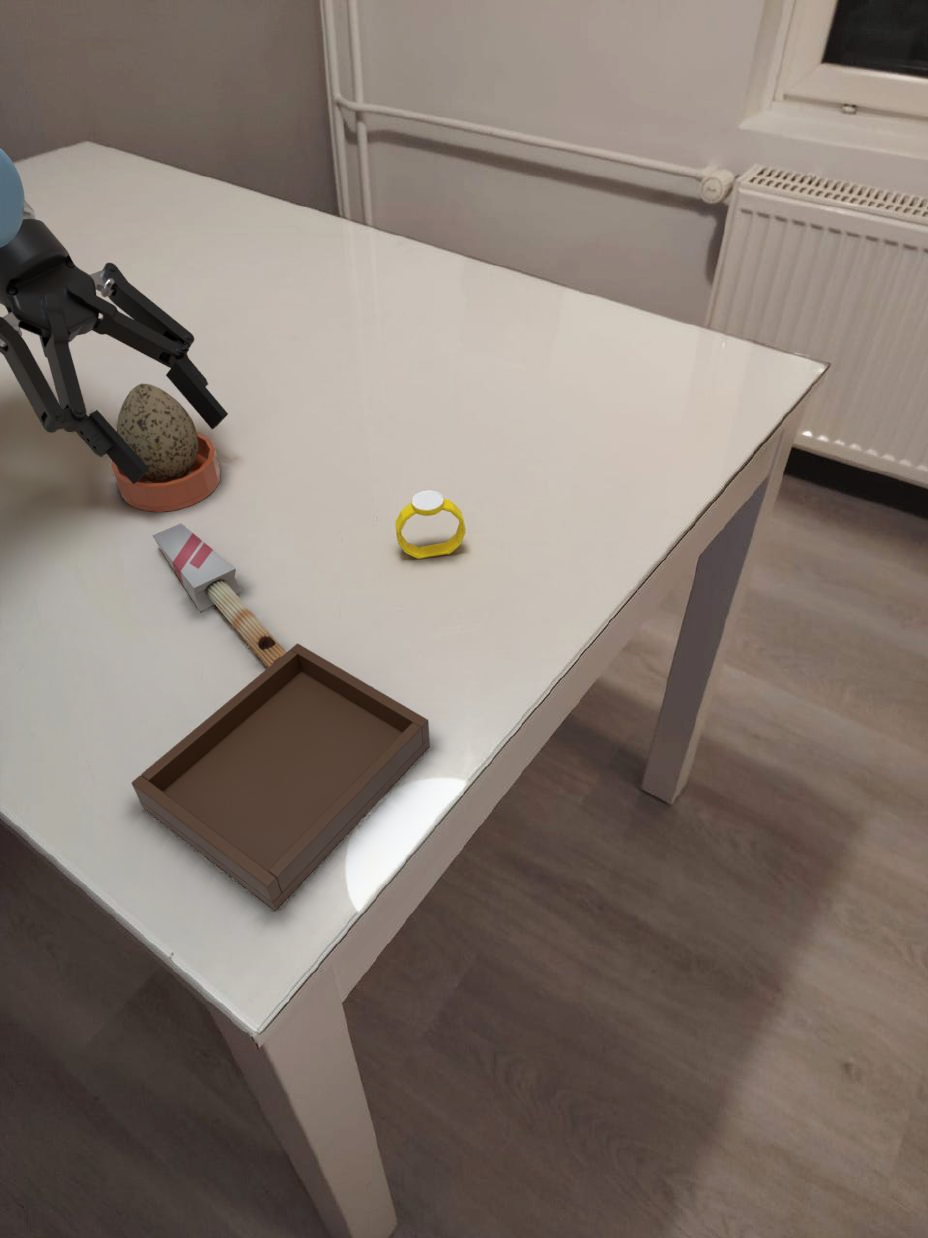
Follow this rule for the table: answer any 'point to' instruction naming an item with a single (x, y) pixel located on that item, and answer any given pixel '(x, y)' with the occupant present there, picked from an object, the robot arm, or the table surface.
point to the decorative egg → (158, 433)
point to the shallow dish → (174, 483)
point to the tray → (283, 771)
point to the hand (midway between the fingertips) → (182, 448)
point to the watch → (427, 506)
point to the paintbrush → (215, 587)
